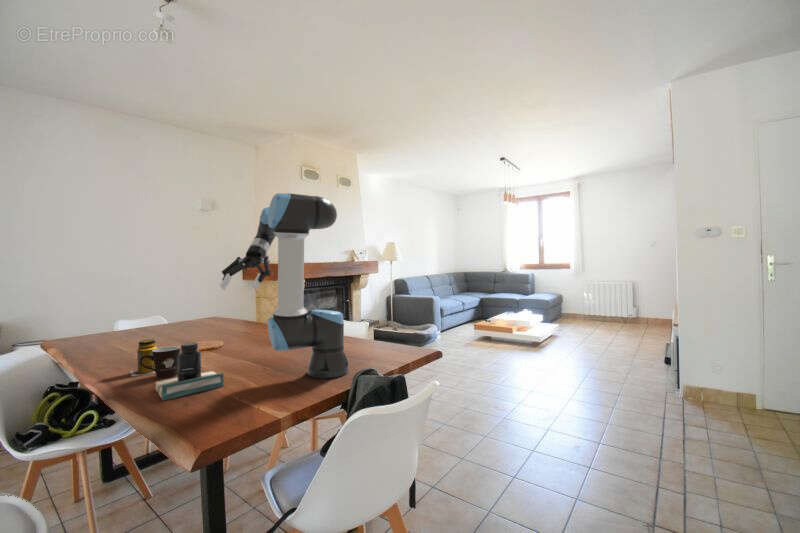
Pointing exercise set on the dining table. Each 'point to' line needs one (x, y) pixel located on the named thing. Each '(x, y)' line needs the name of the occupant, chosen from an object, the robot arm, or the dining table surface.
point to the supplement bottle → (188, 362)
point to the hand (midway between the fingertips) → (238, 287)
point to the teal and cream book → (189, 385)
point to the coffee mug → (164, 361)
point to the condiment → (144, 350)
